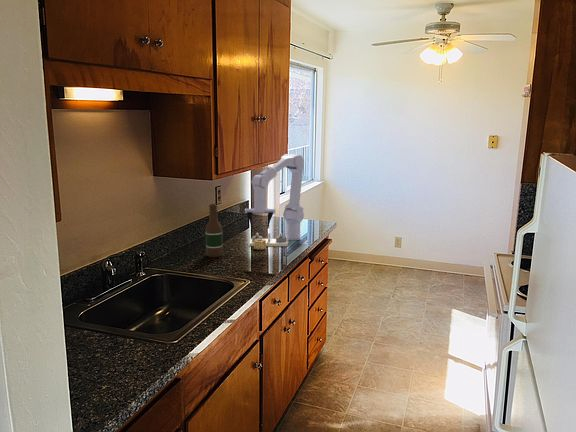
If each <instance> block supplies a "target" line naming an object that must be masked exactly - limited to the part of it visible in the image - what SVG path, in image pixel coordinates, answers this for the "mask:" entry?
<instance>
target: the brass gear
mask: <svg viewBox="0 0 576 432" xmlns="http://www.w3.org/2000/svg"><path fill="white" fill-rule="evenodd" d="M265 239H266V238H263V239H255V240H254V246H253V249H254V250H266V248H267V246H266V240H265Z"/></svg>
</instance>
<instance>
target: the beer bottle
mask: <svg viewBox="0 0 576 432" xmlns="http://www.w3.org/2000/svg"><path fill="white" fill-rule="evenodd" d="M208 207H209V212H208V213H209V215H208V216H209V219H208V222H207V224H206V225H205V230H204V231H205V233H204V234H205V253H206V256H208V257H209V258H220V257H222V256H223V255H224V243H223V242H224V241H223V240H224V238H223V234H224V233H223V228H222V225H221V223H220V222H219V218H218V209H217V208H218V205H217V204H216V203H210V204H209V206H208Z"/></svg>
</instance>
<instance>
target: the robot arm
mask: <svg viewBox="0 0 576 432" xmlns="http://www.w3.org/2000/svg"><path fill="white" fill-rule="evenodd" d="M304 163H305V159H304V158H303V156H302V155H301V154H289V153H285V154H283V155H282V156H280V160H278V161H277V162H276V163H275V164H274V165H273V166H267V167H266V168H265V169H264V170H263V171H261V172H260V173H259V174H256V175H254V176H252V179H251V185H252V190H253V208H244V214H246V216H247V218H248V221H249V223H250V228H251V229H254V220H253V218H254V214H267V225H266V229H270V222H271V220H272V217H273V215H275V214H276V209H275V208H267V188H268V186H269V184H270V183H271V181H272V180H273V179H274V178H276V177H277V175H278V174H277V173H278V172H280V171H282V170H283V169H284V168H286V169H287V170H289V171H290V173H291V180H290V181H291V182H290V188H289V189H290V190H289V191H290V192H289V200H288V203H287V204H286V205H285V207H284V210H283V214H282V215H283V219H284V220H285V222H286V235H285V237H286V239H288V241H298V240H299V241H301V240H302V234H301V223H302V221H303V220H304V217H305V213H304V207H303V206H302V205H301V204H300V203H301V202H300V201H301V193H302V192H301V191H302V181H303V172H304Z"/></svg>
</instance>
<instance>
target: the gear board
mask: <svg viewBox="0 0 576 432" xmlns="http://www.w3.org/2000/svg"><path fill="white" fill-rule="evenodd" d="M255 239H265V240H266V247H288V246H289V240H288V239H286V235H283V233H282V232H279V235H277V236H276V237H275V238H271V232H268V233H267V238H263V236H262V235H259V233H258V232H256V233H255V235H253V236H252V237H251V238H250V241H249V247H254V240H255Z"/></svg>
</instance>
